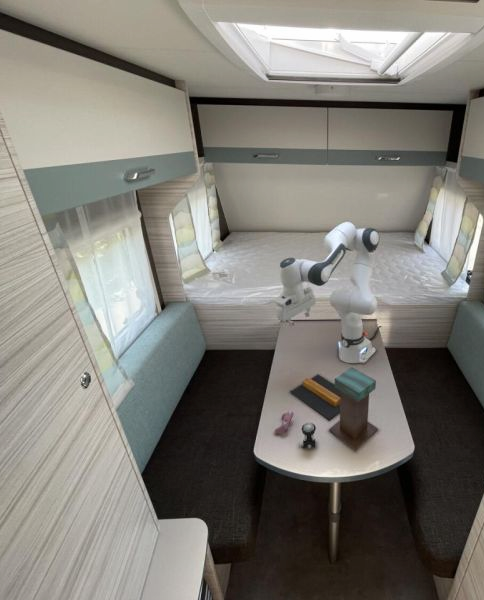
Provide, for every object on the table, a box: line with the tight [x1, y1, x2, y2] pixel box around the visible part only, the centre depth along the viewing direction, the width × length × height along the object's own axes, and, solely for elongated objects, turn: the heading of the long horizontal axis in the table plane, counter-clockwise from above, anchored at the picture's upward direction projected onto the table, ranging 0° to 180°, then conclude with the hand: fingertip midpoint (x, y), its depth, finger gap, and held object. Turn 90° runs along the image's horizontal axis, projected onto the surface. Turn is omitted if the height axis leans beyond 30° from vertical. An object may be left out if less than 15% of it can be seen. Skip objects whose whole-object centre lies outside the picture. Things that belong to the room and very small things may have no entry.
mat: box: [290, 374, 340, 421], centre depth 153 cm, size 18×26×1 cm
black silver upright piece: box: [298, 422, 317, 449], centre depth 125 cm, size 7×5×10 cm
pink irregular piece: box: [274, 410, 295, 435], centre depth 134 cm, size 10×5×7 cm, turn 168°
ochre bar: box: [302, 377, 340, 407], centre depth 152 cm, size 4×22×3 cm, turn 47°
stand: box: [329, 366, 378, 452], centre depth 128 cm, size 14×14×26 cm
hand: (299, 320), depth 151 cm, fingers open, 8 cm apart
